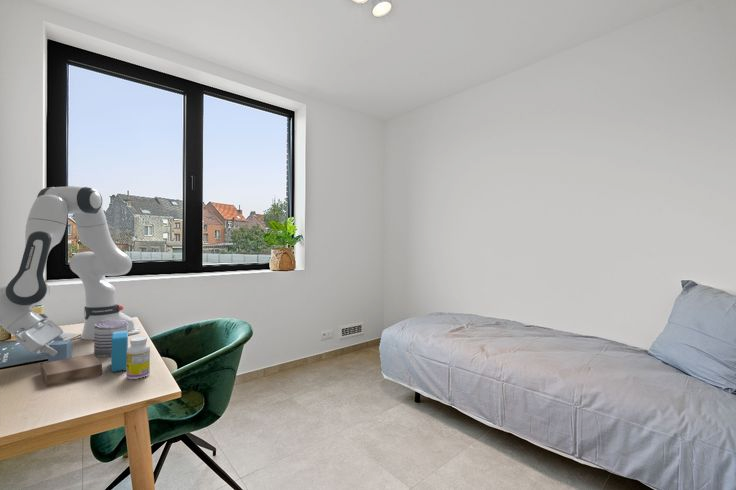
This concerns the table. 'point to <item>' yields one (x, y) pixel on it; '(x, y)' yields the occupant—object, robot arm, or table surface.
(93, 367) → the walnut base block
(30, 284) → the robot arm
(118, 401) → the table surface
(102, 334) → the can
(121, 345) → the data package
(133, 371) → the supplement bottle
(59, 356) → the slate blue block
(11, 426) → the table surface
